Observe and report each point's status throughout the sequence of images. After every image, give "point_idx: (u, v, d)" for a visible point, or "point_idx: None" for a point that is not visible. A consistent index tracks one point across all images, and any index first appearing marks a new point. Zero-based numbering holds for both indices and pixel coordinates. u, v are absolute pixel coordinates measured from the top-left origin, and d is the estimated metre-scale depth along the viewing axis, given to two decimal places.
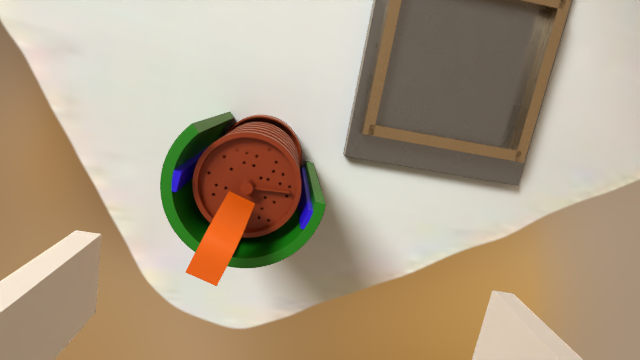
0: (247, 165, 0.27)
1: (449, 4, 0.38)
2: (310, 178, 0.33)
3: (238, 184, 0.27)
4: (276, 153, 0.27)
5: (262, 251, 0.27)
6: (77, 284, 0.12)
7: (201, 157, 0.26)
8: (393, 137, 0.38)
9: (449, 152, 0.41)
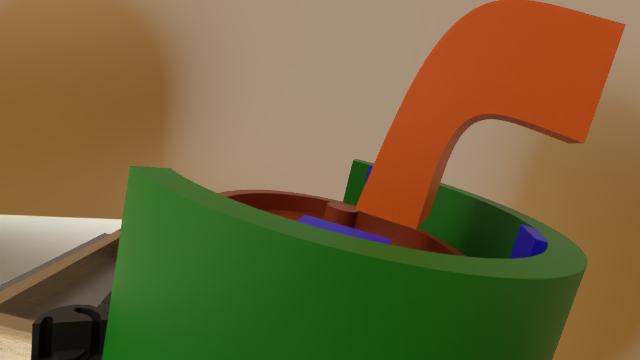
0: None
1: (66, 299, 0.28)
2: None
3: None
4: None
5: (486, 236, 0.12)
6: None
7: None
8: None
9: None
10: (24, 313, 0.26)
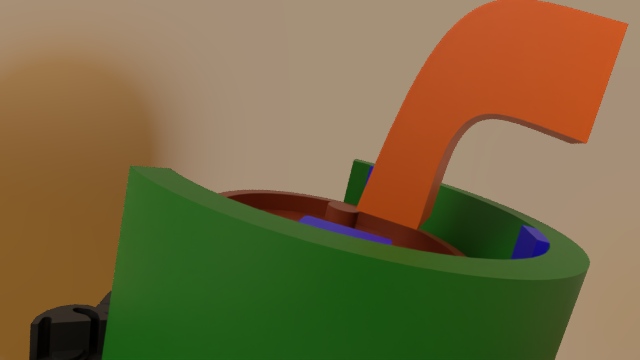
0: None
1: None
2: None
3: None
4: None
5: (487, 236, 0.12)
6: None
7: None
8: None
9: None
10: None
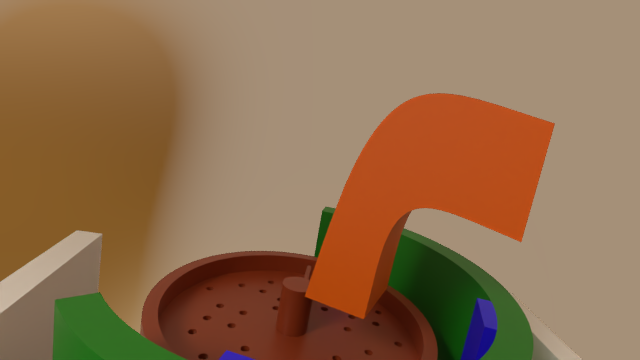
0: (241, 326, 0.10)
1: None
2: None
3: (291, 343, 0.10)
4: (222, 282, 0.12)
5: (452, 295, 0.11)
6: (78, 284, 0.12)
7: None
8: None
9: None
10: None
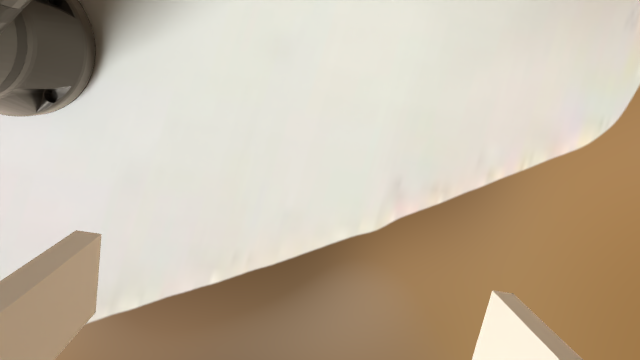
0: None
1: None
2: None
3: None
4: None
5: None
6: (77, 284, 0.12)
7: None
8: None
9: None
10: None
